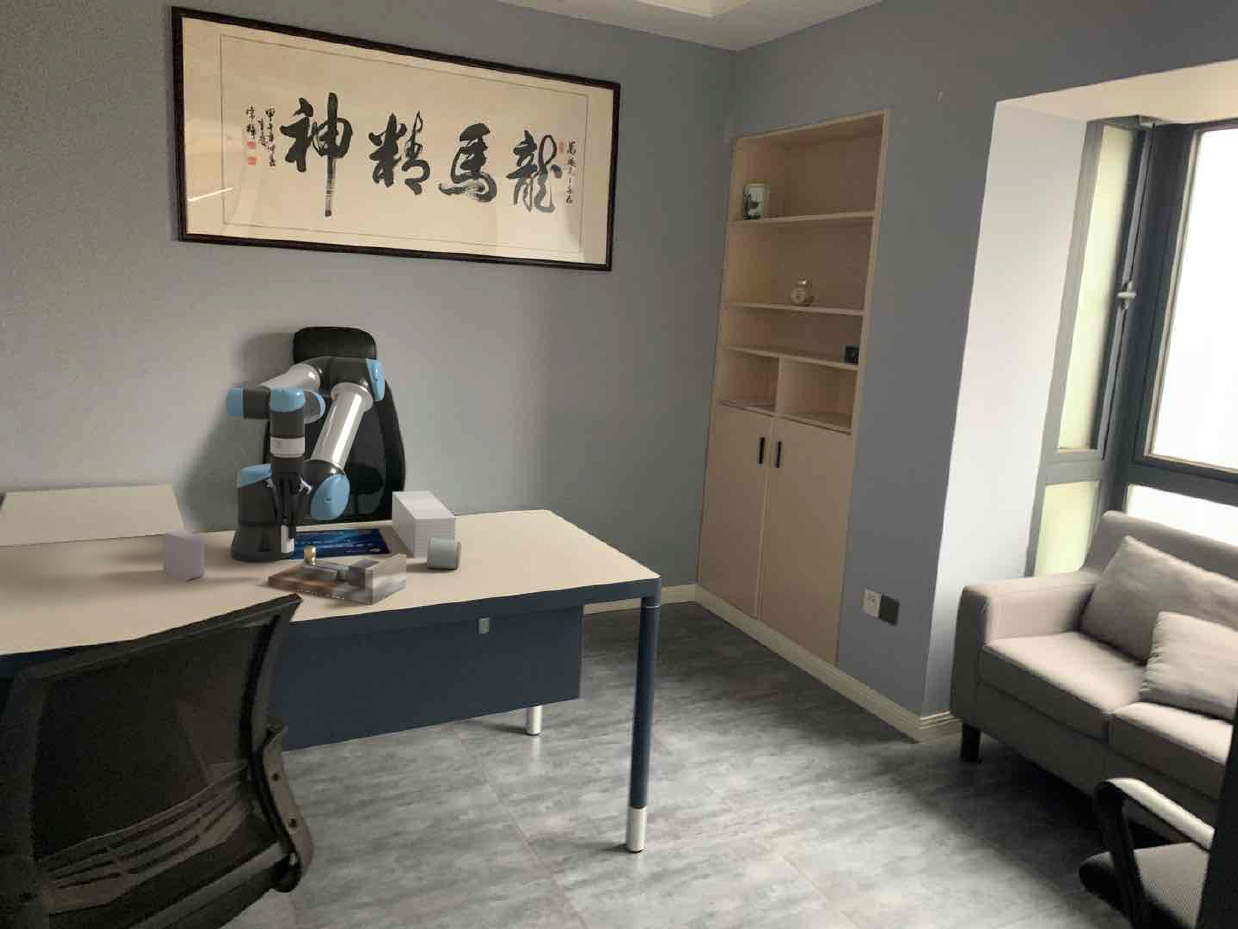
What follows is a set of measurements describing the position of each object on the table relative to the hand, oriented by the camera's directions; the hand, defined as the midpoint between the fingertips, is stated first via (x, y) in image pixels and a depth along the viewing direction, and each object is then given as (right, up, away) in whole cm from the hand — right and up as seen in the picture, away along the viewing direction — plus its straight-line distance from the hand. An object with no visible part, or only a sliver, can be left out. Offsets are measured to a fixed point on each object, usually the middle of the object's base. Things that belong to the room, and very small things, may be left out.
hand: (287, 551), depth 218 cm
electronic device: (-24, -6, -2) cm, 24 cm away
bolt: (+10, -5, -2) cm, 12 cm away
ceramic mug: (+34, -6, +18) cm, 39 cm away
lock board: (+13, -8, -3) cm, 15 cm away
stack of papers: (+23, -1, +39) cm, 46 cm away
